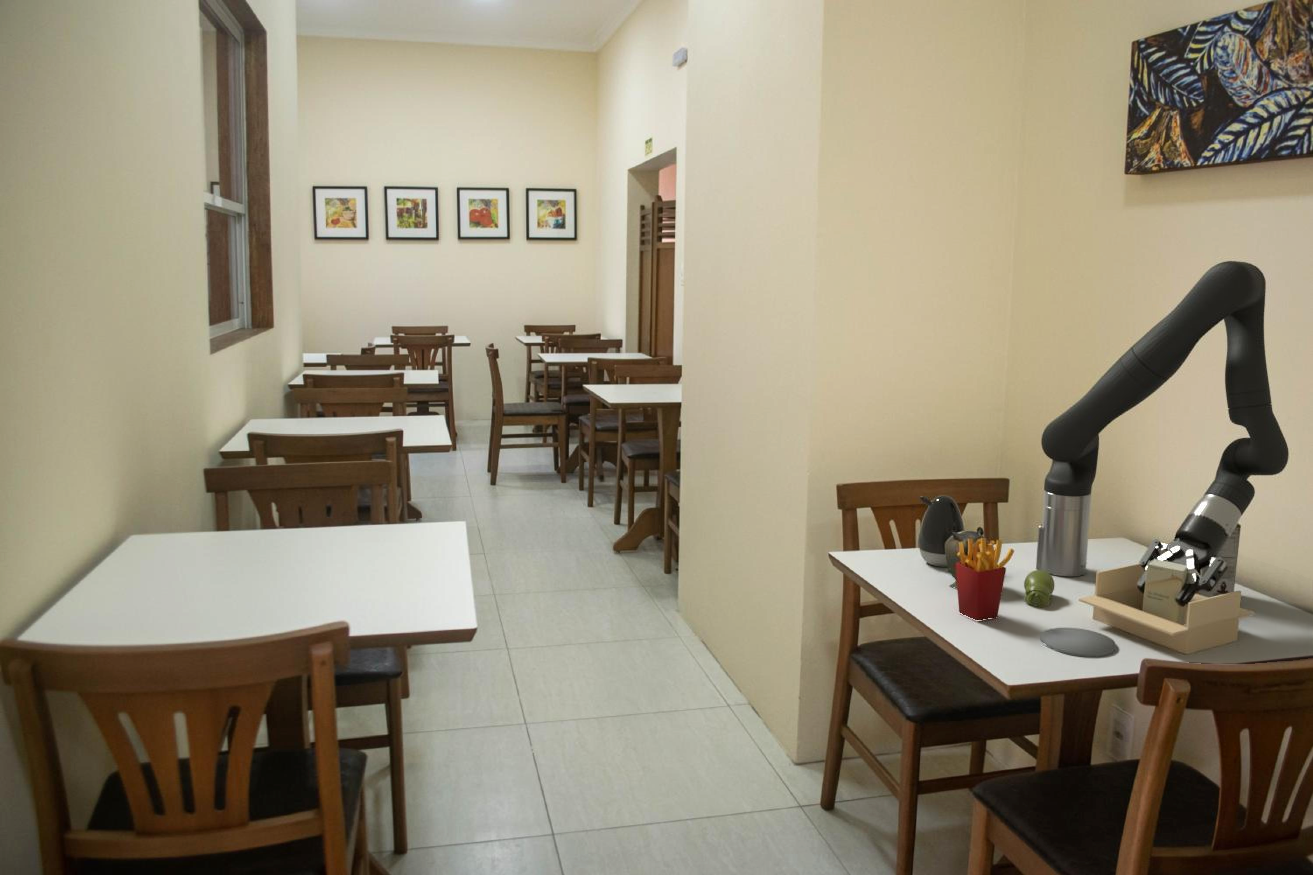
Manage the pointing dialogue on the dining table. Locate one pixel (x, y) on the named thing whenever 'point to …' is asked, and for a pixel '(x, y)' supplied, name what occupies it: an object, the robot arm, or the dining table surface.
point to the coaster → (1078, 642)
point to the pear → (1038, 588)
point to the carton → (1203, 618)
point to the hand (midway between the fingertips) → (1159, 597)
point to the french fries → (980, 579)
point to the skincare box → (1165, 590)
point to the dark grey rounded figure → (938, 528)
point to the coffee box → (1230, 557)
